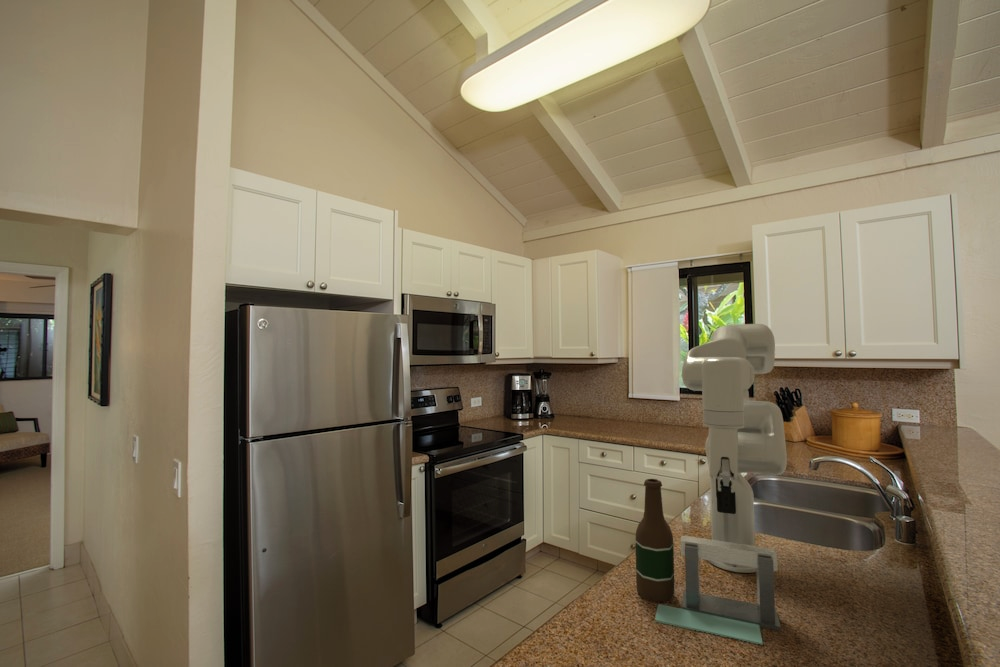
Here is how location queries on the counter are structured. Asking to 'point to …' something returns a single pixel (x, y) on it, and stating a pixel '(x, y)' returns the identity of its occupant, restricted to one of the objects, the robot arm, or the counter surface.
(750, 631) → the mat
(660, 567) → the beer bottle
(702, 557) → the rail
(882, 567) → the counter surface
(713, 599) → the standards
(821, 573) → the counter surface
